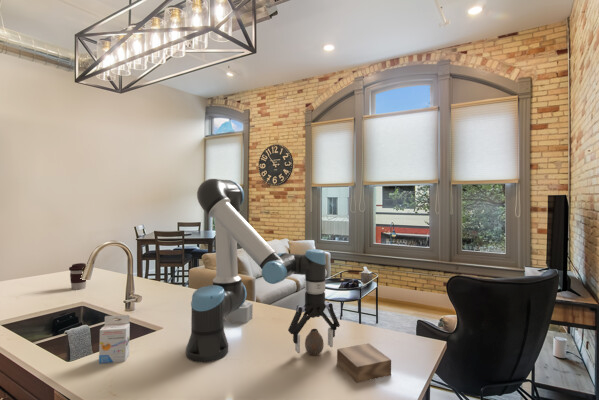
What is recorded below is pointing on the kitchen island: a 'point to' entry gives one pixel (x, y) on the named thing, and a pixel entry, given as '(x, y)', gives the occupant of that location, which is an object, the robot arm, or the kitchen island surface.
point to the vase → (314, 343)
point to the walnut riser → (363, 362)
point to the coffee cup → (77, 276)
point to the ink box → (114, 339)
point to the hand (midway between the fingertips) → (314, 348)
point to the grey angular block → (241, 314)
